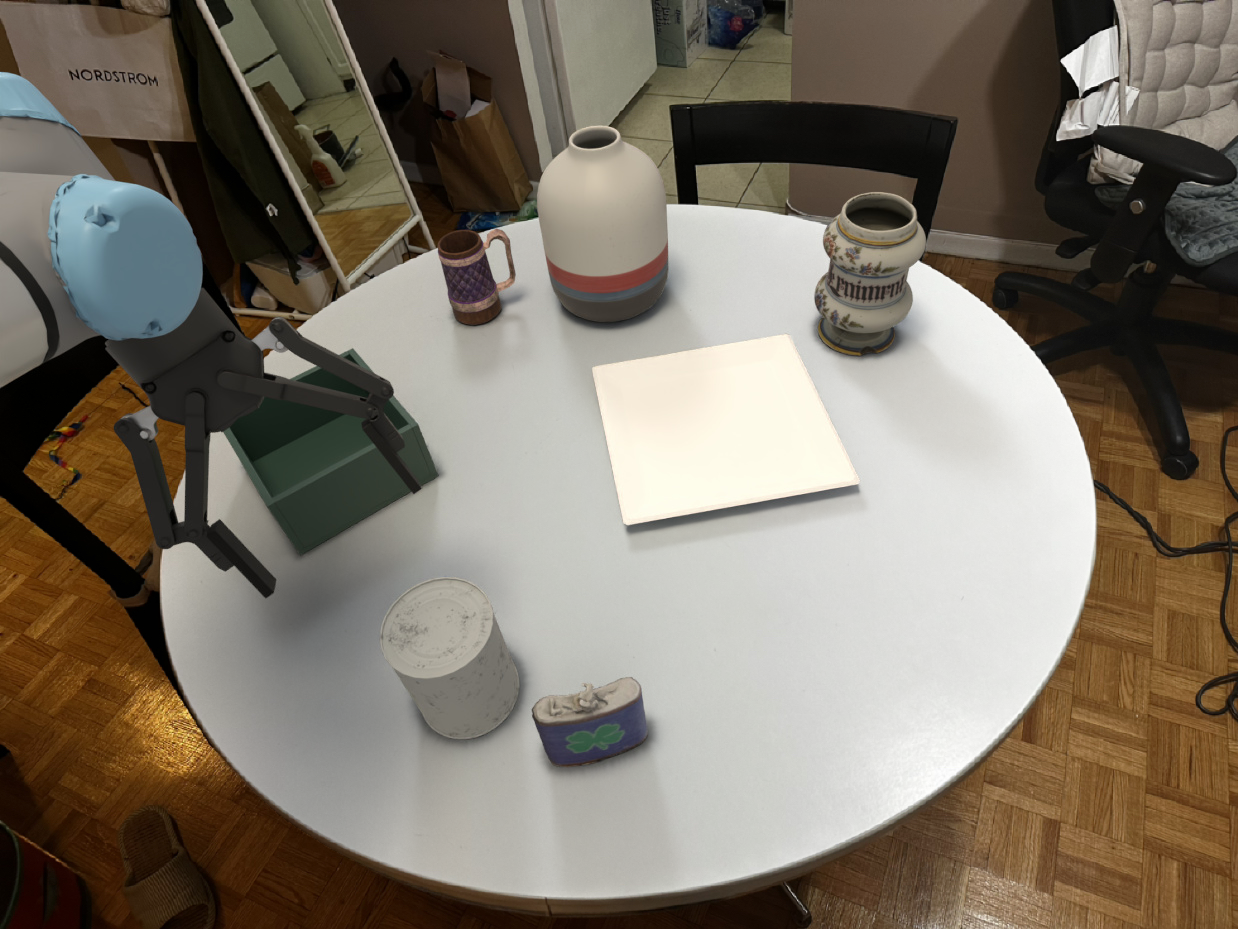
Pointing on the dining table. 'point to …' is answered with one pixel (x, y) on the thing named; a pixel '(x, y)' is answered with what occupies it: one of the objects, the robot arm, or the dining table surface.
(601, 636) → the dining table surface
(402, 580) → the dining table surface
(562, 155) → the vase
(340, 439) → the bin
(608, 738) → the flask
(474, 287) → the mug
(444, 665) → the white speckled cylinder
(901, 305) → the apothecary jar
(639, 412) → the white flat square slab
